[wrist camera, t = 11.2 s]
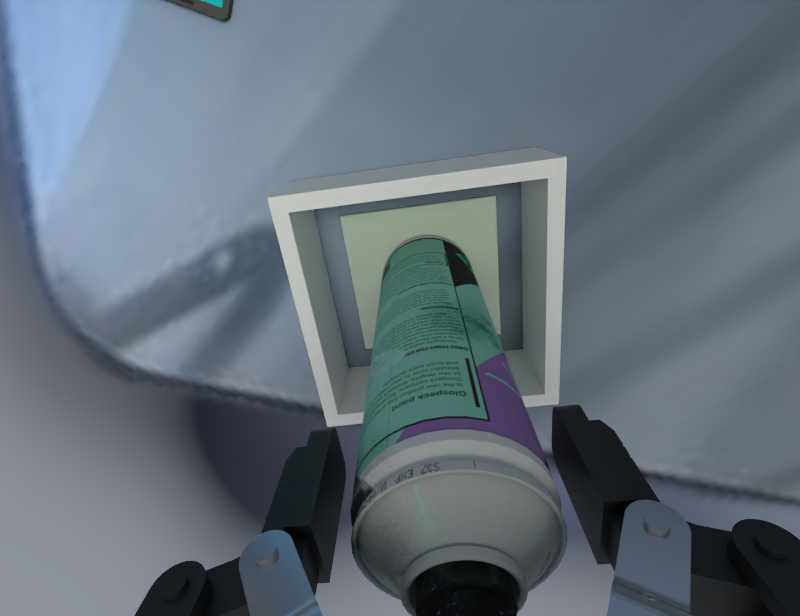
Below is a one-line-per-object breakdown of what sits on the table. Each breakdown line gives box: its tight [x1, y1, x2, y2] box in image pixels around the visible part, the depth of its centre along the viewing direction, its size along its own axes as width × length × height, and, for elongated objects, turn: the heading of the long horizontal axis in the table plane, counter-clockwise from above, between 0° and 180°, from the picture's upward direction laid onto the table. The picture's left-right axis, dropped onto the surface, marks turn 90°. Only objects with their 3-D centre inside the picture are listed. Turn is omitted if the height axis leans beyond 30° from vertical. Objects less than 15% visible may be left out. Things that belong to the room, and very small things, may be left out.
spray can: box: [351, 235, 567, 616], centre depth 17 cm, size 6×6×20 cm
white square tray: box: [267, 147, 567, 427], centre depth 24 cm, size 14×14×5 cm
